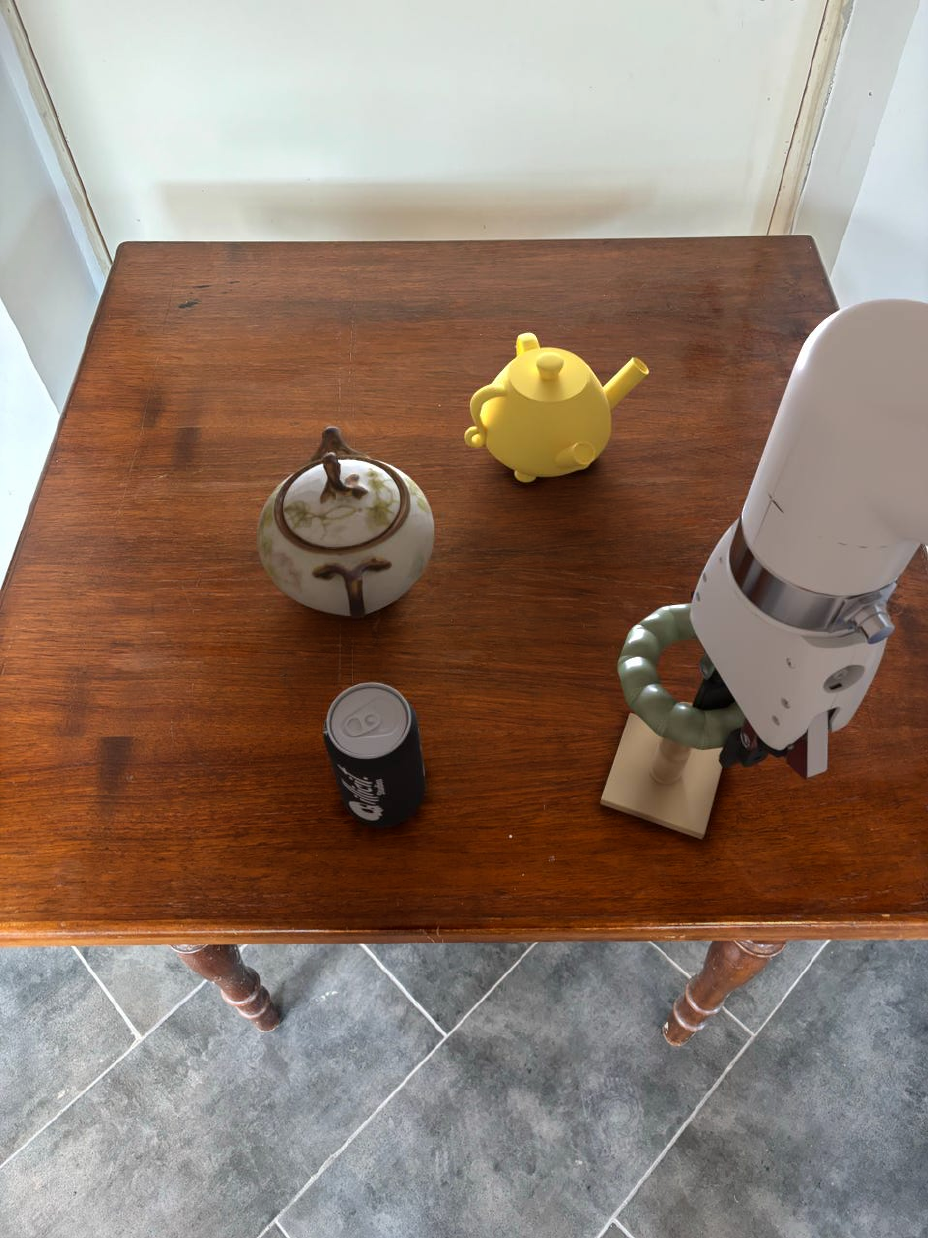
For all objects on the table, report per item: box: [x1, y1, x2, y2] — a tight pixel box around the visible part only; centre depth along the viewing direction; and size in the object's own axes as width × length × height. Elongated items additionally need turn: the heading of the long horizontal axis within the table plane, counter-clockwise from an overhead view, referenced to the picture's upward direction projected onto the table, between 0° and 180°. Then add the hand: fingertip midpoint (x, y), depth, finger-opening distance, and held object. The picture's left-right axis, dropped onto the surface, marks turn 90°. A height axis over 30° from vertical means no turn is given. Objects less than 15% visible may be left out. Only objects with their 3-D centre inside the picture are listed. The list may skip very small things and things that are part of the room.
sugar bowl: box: [256, 425, 435, 619], centre depth 79 cm, size 20×15×15 cm
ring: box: [617, 602, 746, 750], centre depth 61 cm, size 10×10×2 cm
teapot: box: [464, 332, 650, 483], centre depth 89 cm, size 14×14×11 cm
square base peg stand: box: [599, 701, 723, 840], centre depth 70 cm, size 8×8×10 cm
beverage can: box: [322, 682, 427, 828], centre depth 69 cm, size 7×7×12 cm
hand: (727, 731), depth 59 cm, fingers closed on ring, 2 cm apart
